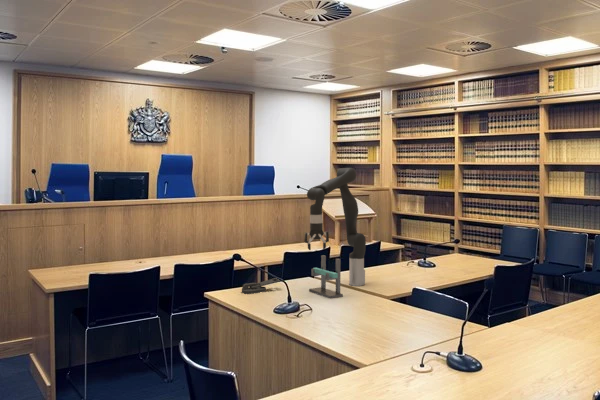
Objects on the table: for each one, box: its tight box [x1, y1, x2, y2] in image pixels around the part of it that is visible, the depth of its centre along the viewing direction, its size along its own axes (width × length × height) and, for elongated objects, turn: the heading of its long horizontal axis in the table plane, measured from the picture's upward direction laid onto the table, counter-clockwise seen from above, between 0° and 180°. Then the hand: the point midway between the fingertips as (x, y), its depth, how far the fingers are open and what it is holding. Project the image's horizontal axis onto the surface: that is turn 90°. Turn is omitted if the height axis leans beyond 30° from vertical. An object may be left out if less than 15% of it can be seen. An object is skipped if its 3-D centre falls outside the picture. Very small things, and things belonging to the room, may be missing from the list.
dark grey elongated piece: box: [241, 277, 282, 295], centre depth 322 cm, size 9×7×25 cm
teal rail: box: [312, 267, 338, 278], centre depth 313 cm, size 2×22×2 cm, turn 32°
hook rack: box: [308, 254, 344, 300], centre depth 313 cm, size 9×22×22 cm, turn 32°
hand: (316, 249), depth 313 cm, fingers open, 8 cm apart
